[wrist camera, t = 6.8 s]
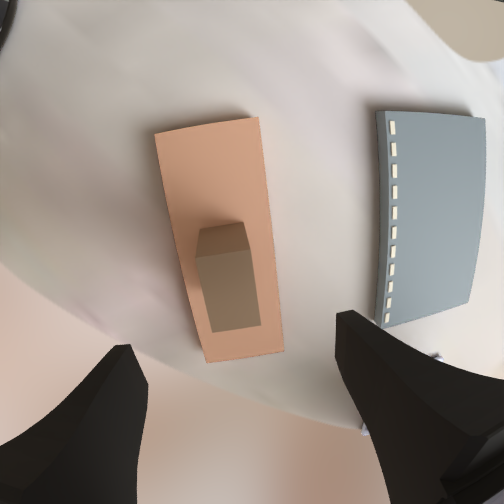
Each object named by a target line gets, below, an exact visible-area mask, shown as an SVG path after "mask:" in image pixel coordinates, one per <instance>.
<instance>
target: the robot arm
mask: <svg viewBox="0 0 504 504" xmlns="http://www.w3.org/2000/svg"><path fill="white" fill-rule="evenodd" d="M335 359H336V362H337V365H338V368H339V370H340V373H341V376H342V379H343V381H344V383H345V385H346V387H347V389H348V391H349V393H350V395H351V397H352V399H353V401H354V403H355V405H356V407H357V409H358V411H359V413H360V415H361V417H362V419H363V421H364V423H363V427H362V431H361V433H362V435H364V436H365V435H368V434H370V436H371V439H372V442H373V444H374V447H375V450H376V453H377V456H378V459H379V462H380V466H381V469H382V472H383V475H384V479H385V483H386V486H387V490H388V494H389V498H390V502H391V504H504V380H502V379H497V378H492V377H488V376H483V375H479V374H475V373H472V372H469V371H466V370H463V369H459V368H456V367H454V366H451V365H448V364H446V363H443V360H444V358H443V357H442V356H438V357H435V358H432V357H430V356H428V355H426V354H424V353H422V352H420V351H418V350H416V349H414V348H412V347H410V346H409V345H407V344H405V343H403V342H402V341H400V340H398V339H397V338H395V337H393V336H392V335H390V334H389V333H387V332H386V331H384V330H383V329H381V328H380V327H378V326H377V325H375V324H374V323H372V322H371V321H369V320H368V319H366V318H365V317H363V316H362V315H360V314H359V313H357V312H356V311H354V310H349V311H344V312H340V313H336V343H335ZM147 403H148V383H147V381H146V378H145V376H144V374H143V372H142V370H141V367H140V365H139V363H138V361H137V359H136V356H135V354H134V352H133V349H132V347H131V345H130V344H125V345H115V346H114V347H113V348H112V349H111V350H110V351H109V352H108V353H107V354H106V355H105V356H104V357H103V358H102V360H101V361H100V362H99V363H98V364H97V365H96V366H95V367H94V369H93V370H92V371H91V372H90V373H89V374H88V375H87V376H86V377H85V378H84V380H83V381H82V382H81V383H80V384H79V385H78V386H77V387H76V388H75V389H74V390H73V391H72V392H71V393H70V394H69V395H68V396H67V397H66V398H65V399H64V400H63V401H62V402H61V403H60V404H59V405H58V406H57V407H56V408H55V409H53V410H52V411H51V412H50V413H49V414H47V415H46V416H45V417H44V418H43V419H41V420H40V421H39V422H37V423H36V424H34V425H33V426H32V427H30V428H29V429H28V430H26V431H25V432H23V433H22V434H20V435H19V436H17V437H15V438H14V439H12V440H10V441H8V442H7V443H5V444H3V445H1V446H0V504H137V465H138V457H139V451H140V445H141V440H142V434H143V428H144V423H145V418H146V411H147Z"/></svg>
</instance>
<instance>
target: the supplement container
mask: <svg viewBox="0 0 504 504" xmlns="http://www.w3.org/2000/svg"><path fill="white" fill-rule="evenodd" d="M17 2H18V0H0V51H1V49H2V47H3V45H4V43H5V41H6V39H7V36H8V34H9V32H10V29H11V27H12V24H13V21H14V17H15V14H16V9H17Z"/></svg>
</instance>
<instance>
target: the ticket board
mask: <svg viewBox="0 0 504 504" xmlns="http://www.w3.org/2000/svg"><path fill="white" fill-rule="evenodd" d="M375 112H376V123H377V136H378V152H379V176H380V242H379V266H378V282H377V296H376V307H375V318H374V321H375V322H376V324H377V325H378V327H380V328H381V329H384V328H388V327H392V326H395V325H399V324H402V323H406V322H409V321H413V320H416V319H419V318H423V317H426V316H429V315H432V314H436V313H439V312H442V311H445V310H448V309H451V308H454V307H457V306H460V305H463V304H465V303H468V301H469V296H470V292H471V287H472V283H473V278H474V273H475V267H476V262H477V256H478V250H479V243H480V236H481V228H482V219H483V209H484V197H485V180H486V126H485V118H477V117H469V116H460V115H450V114H439V113H425V112H405V111H375Z"/></svg>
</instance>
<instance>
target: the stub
mask: <svg viewBox="0 0 504 504" xmlns="http://www.w3.org/2000/svg"><path fill="white" fill-rule="evenodd" d="M154 135H155V141H156V147H157V153H158V159H159V165H160V170H161V176H162V181H163V186H164V191H165V196H166V201H167V206H168V211H169V216H170V221H171V226H172V230H173V235H174V239H175V244H176V248H177V253H178V257H179V261H180V265H181V270H182V274H183V278H184V282H185V286H186V290H187V294H188V298H189V302H190V305H191V309H192V313H193V317H194V320H195V324H196V328H197V331H198V335H199V339H200V342H201V346H202V349H203V353H204V356H205V359H206V363H212V362H219V361H227V360H234V359H241V358H247V357H253V356H260V355H266V354H271V353H277V352H283V351H284V344H283V333H282V323H281V312H280V302H279V292H278V282H277V272H276V262H275V253H274V244H273V234H272V225H271V216H270V208H269V199H268V190H267V182H266V173H265V165H264V157H263V149H262V141H261V133H260V125H259V117H254V118H246V119H238V120H230V121H223V122H217V123H210V124H204V125H198V126H193V127H187V128H182V129H176V130H171V131H166V132H162V133H157V134H154Z"/></svg>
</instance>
